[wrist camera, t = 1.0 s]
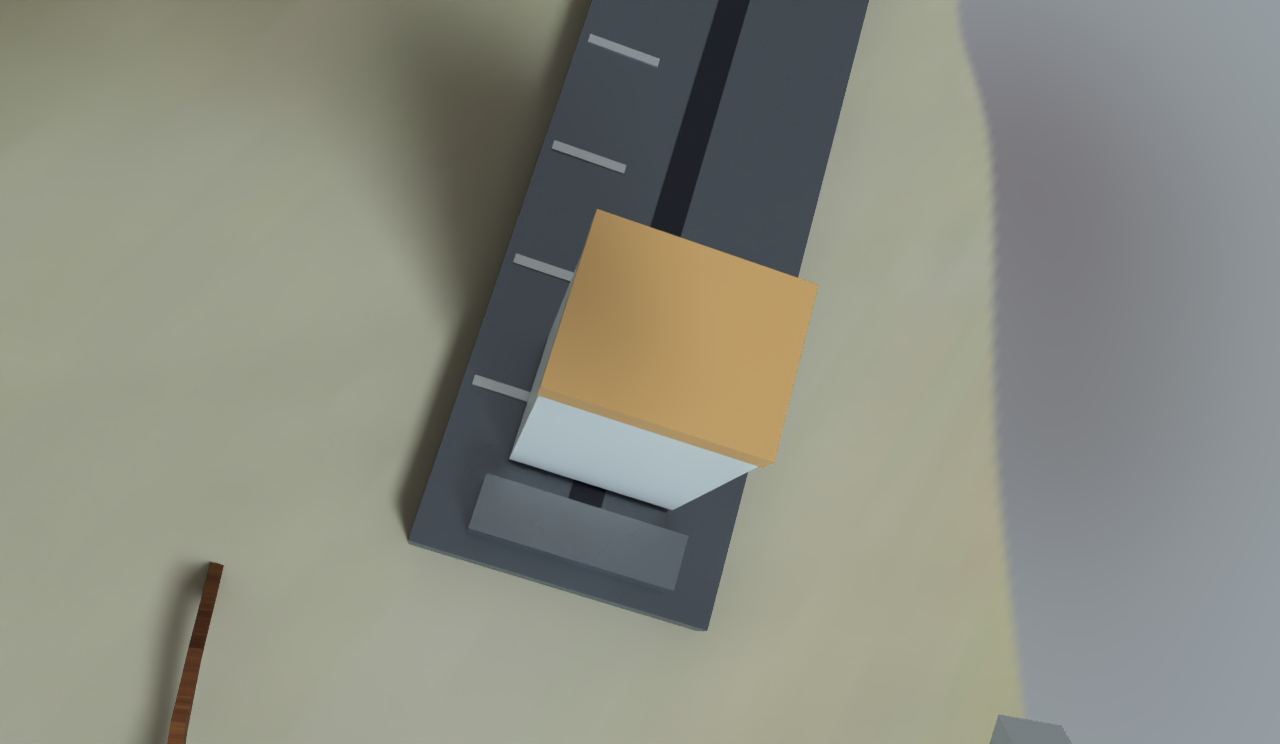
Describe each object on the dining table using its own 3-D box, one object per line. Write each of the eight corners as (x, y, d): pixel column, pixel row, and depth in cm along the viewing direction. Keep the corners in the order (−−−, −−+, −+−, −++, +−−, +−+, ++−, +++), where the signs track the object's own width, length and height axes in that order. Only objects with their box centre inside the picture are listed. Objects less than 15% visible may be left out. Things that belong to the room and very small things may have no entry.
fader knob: (673, 512, 32) (774, 462, 23) (506, 460, 31) (539, 386, 22) (709, 382, 33) (818, 285, 24) (548, 330, 33) (596, 208, 23)
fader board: (697, 630, 33) (717, 630, 31) (408, 543, 32) (407, 536, 30) (878, -69, 40) (905, -112, 38) (647, -158, 39) (661, -207, 37)
